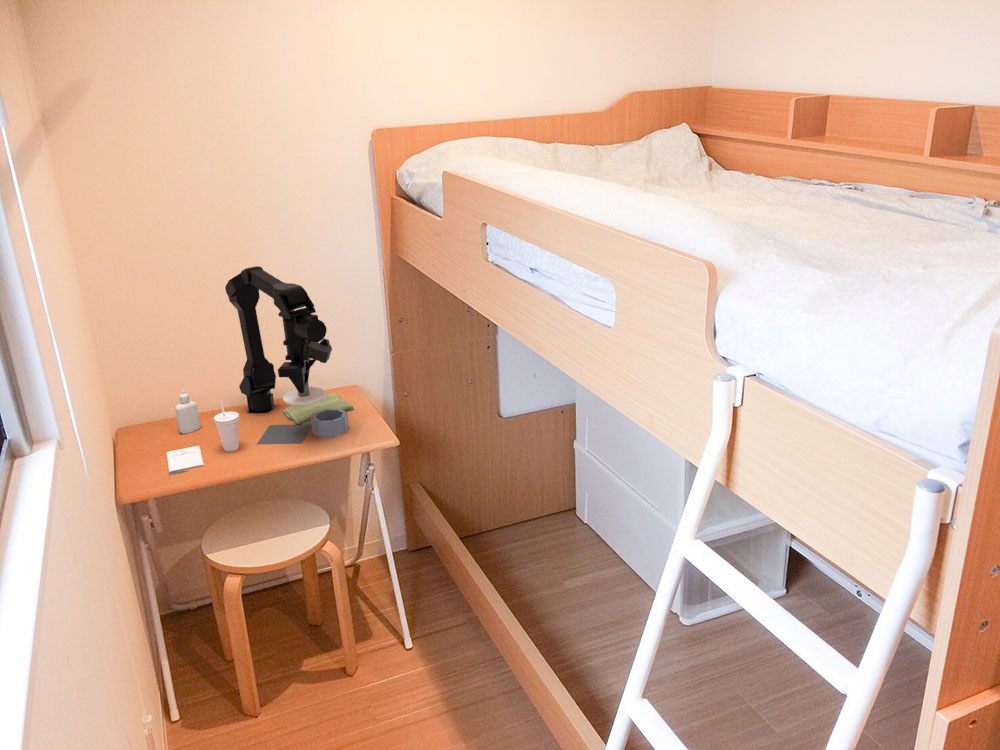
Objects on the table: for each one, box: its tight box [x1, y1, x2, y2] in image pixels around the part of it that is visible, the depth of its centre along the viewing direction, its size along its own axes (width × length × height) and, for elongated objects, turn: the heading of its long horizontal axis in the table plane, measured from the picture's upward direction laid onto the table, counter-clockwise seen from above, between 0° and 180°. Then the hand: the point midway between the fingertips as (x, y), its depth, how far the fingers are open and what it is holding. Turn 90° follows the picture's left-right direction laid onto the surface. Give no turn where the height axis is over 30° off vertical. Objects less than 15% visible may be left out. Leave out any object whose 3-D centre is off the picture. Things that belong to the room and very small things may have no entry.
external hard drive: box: [166, 445, 205, 476], centre depth 204 cm, size 2×8×12 cm
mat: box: [256, 423, 312, 445], centre depth 216 cm, size 12×12×1 cm
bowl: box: [310, 409, 349, 439], centre depth 217 cm, size 9×9×5 cm
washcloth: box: [282, 392, 354, 425], centre depth 230 cm, size 13×18×3 cm
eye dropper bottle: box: [174, 389, 202, 435], centre depth 220 cm, size 4×6×12 cm
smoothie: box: [213, 400, 241, 452], centre depth 207 cm, size 6×6×14 cm
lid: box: [282, 382, 326, 406], centre depth 212 cm, size 11×11×4 cm
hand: (303, 390), depth 213 cm, fingers closed on lid, 3 cm apart
